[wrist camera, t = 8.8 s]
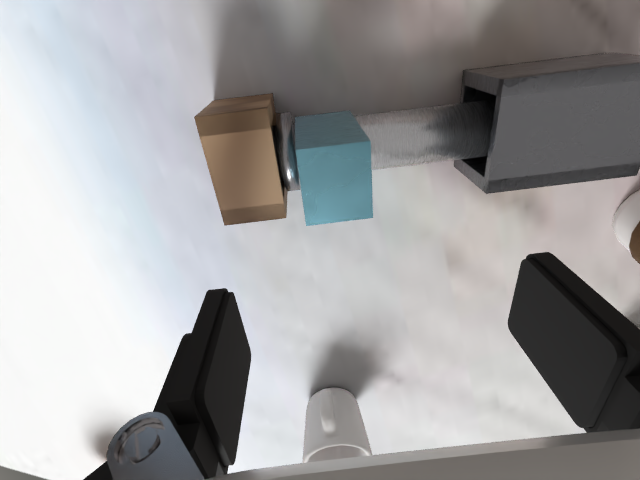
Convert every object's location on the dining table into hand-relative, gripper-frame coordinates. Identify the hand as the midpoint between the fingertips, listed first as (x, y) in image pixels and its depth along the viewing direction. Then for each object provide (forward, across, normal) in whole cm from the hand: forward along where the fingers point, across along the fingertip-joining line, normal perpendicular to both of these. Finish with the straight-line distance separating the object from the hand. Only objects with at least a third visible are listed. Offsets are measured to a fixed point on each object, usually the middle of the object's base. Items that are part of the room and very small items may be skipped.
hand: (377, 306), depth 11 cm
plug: (+20, -2, -1) cm, 20 cm away
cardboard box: (+20, +6, -1) cm, 21 cm away
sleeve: (+20, -16, -1) cm, 26 cm away
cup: (+21, +3, +32) cm, 39 cm away
